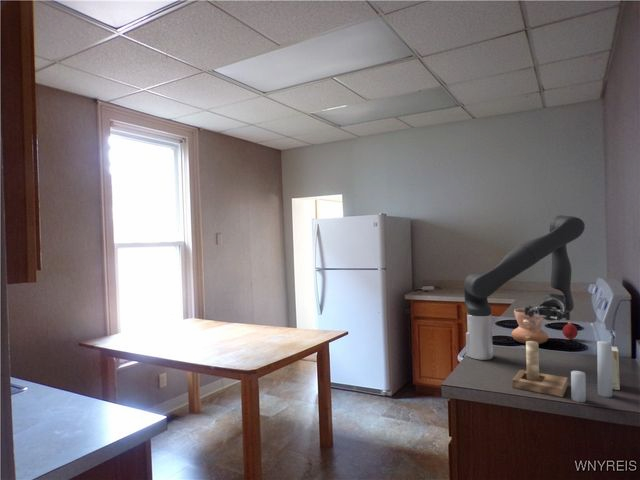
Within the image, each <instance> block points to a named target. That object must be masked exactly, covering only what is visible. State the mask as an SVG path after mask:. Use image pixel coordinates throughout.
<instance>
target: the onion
mask: <svg viewBox="0 0 640 480" xmlns="http://www.w3.org/2000/svg"><path fill="white" fill-rule="evenodd" d="M578 333H579V332H578V328H577V327H576V326H575V325H574V324H573V323H572V322H569V321H568V322H567V324H565V325H564V326H563V328H562V334H563V336H564V337H565V338H567V339H568V340H570V341H572V340H573V339H575V338H576V337H577V336H578Z"/></svg>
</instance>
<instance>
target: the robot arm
mask: <svg viewBox="0 0 640 480" xmlns="http://www.w3.org/2000/svg"><path fill="white" fill-rule="evenodd" d="M585 227H586V225H585V222H584V221H583V220H582V219H581V218H580V217H576V216H572V215H563V214H560V215H559V214H558V215H556V216H555V217H553V218H552V219H551V221H550V223H549V232H548V233H547V234H544V235H542V236H541V235H540V236H539V237H536V238H533V239H530V240H527V241H524V242H523V243H521V244H519V245H517V246H516V247H515V248H513V249H511V250H510V251H509V252H507V253H506V255H505V256H504V257H503V259H502V260H500V262H499V263H498V264H497V265H496V266H495V267H493V268H492V269H490V270H488V271H486V272H484V273H483V274H481V273H471V274H469V275H468V276H467V277H466V278H465V280H464V283H463V293H464V294H463V295H464V306H465V308H466V320H467V321H466V323H467V332H465V349H466V357H469V358H471V359H476V360H481V361H483V360H485V361H487V360H491V359H492V358H494V355H493V354H494V350H493V316H492V314H493V313H492V307H491V306H490V304H489V301H488V297H490V296H491V295H493V294H494V293H495V292H497V290H499V289H500V288H501V287H502V286H504V285H505V284H506V283H508V282H509V281H510V280H512V279H514V278H515V277H517V276H518V275H520V274H521V273H523V272H525V271H526V270H528V269H529V268H531V267H533V266H534V265H536V264H537V263H538V262H540V261H541V260H542V259H544V258H545V257H547V256H549V255H550V254H551V273H550V275H551V276H550V287H551V288H553V289H554V290H557V291H559V292H561V293H562V294H560V293H559V294H558V293H547V294H546V295H545V296H544V299H543V301H542V302H541V303H540V304H539V306H535V307H534V306H532V305H528V306H525V307H524V308H525V315H528V316H529V317H533V316H537V317H543V318H544V319H543V320H547V321H550V322H552V321H558V322H559V321H561V320H562V321H563V320H564V319H565V320H567V321H570V320H571V317H572V315H571V314H572V311H573V310H574V307H575V306H574V304H575V303H574V299H573V294H572V291H571V282H572V281H571V280H572V265H571V261H570V258H569V255H568V252H567V244H569V243H571V242H573V241H575V240H577V239H578V238H579V237H580V236H582V234H583V233H584V231H585ZM534 311H535V313H534ZM539 314H540V315H539Z"/></svg>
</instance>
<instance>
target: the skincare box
mask: <svg viewBox="0 0 640 480" xmlns="http://www.w3.org/2000/svg"><path fill="white" fill-rule="evenodd" d="M620 384H621V383H620V360H619V349H618V346H613V345H612V390H616V391H620V389H621V387H620Z"/></svg>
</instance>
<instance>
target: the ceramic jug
mask: <svg viewBox="0 0 640 480" xmlns="http://www.w3.org/2000/svg"><path fill="white" fill-rule="evenodd" d="M534 313H535V311H534ZM513 314H514V317H515V320H516V322H517V324H518V326H517V327H516V328H515V329H513V330H512V331H511V337H512V338H513V339H514V340H515V341H516V342H519V343H520V344H525V345H526V342H527V341H535V342H538V345H541V344H545V343H546V342H547V341H548V339H549V335H548V333H546V331H544V330H543V329H542V328H541V326H542V324H543V321H544V320H545V319H544V318H543V317H537V316H533V317H529V316H528V315H525V307H524V308H515V309H513ZM539 315H540V314H539Z"/></svg>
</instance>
